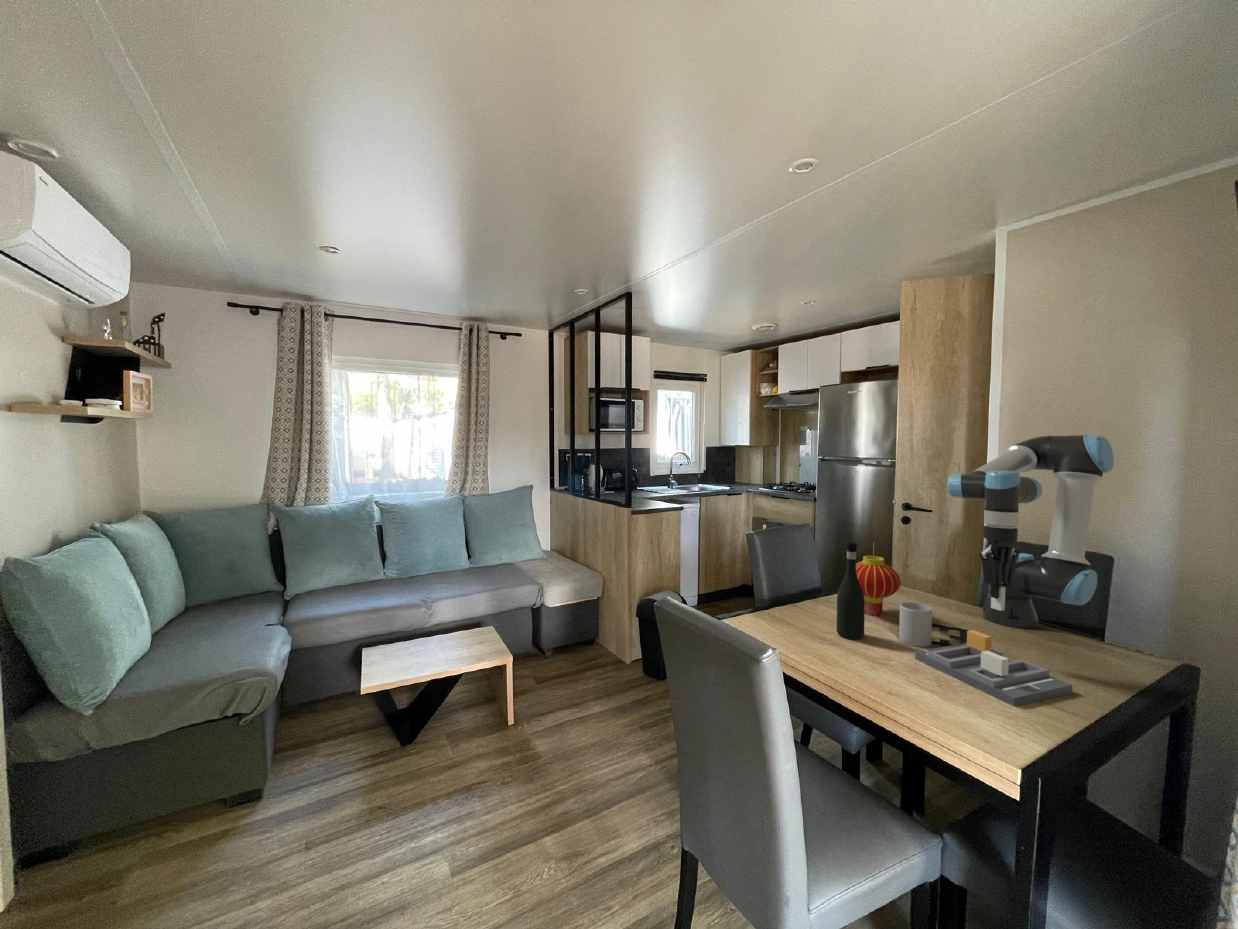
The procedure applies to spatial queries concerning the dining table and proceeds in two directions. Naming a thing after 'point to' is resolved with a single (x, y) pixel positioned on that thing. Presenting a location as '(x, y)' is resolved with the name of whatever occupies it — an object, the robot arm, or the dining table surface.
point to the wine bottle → (850, 600)
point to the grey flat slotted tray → (1013, 688)
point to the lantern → (876, 581)
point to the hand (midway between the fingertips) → (997, 608)
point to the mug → (915, 624)
